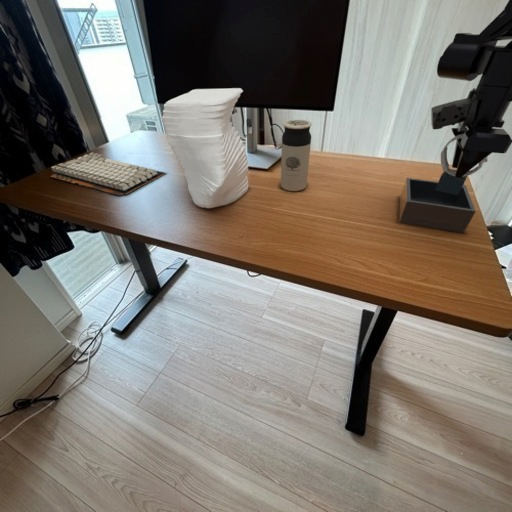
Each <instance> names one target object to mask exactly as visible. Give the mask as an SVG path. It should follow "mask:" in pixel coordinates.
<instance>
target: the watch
mask: <svg viewBox="0 0 512 512" xmlns="http://www.w3.org/2000/svg"><path fill="white" fill-rule="evenodd" d="M463 135H464V134H460V135H458V136H456V137H455V136H454V137H452V138H451V139H450V140H448V141H447V143H446V144H445V145H444V147H443V148H442V150H441V151H440V164H441V168H442V170H443V172H442V174H441V175H440V177H439V180H438V181H437V182H438V184H437V187H436V189H435V190H436V191H441V192H445V193H450V194H454V195H459V192H460V190H461V188H462V187H463V185H465V183H466V181H467V178H468V176H471V175H473V174H475V173H477V172H478V171H479V170H480V169H481V168H483V165H484V163H487V162H488V158H489V155H488V156H487V157H486V158H484V159H483V160H482V161H481V162H479V163H478V164H477V166H475V167H473V168H472V169H471V170H470V171H468V172H467V173H466V174H465V175H464V176H462V177H456V176H455V174H456V170H457V169H454V168H453V169H451V168H450V164H449V161H448V153H447V152H448V146H449V145H450V144H451V143H453V142H454V141H456V140H457V139H459V138H462V137H463Z"/></svg>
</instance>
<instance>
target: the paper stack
mask: <svg viewBox="0 0 512 512" xmlns="http://www.w3.org/2000/svg"><path fill="white" fill-rule="evenodd" d="M243 92H244V90H243V89H242V88H241V87H232V88H231V87H230V88H195V89H192V90H190V91H188V92H186V93H183V94H181V95H178V96H176V97H174V98H171V99H169V100H168V101H166V102H165V103H164V104H163V110H162V116H161V119H162V123H163V128H164V130H165V134H166V139H167V141H168V145H169V146H170V150H171V151H172V152H173V155H175V159H177V162H178V164H180V167H181V168H183V172H184V176H185V179H186V181H187V182H186V183H187V188H188V191H189V194H190V196H191V199H192V202H193V203H194V204H195V205H196V206H197V207H199V208H203V209H213V208H218V207H221V206H222V207H223V206H227V205H230V204H233V203H234V202H235V201H237V200H239V199H240V198H241V197H242V196H243V195H244V194H245V193H247V192H248V190H249V186H250V185H249V179H248V174H249V173H248V172H249V164H248V156H247V150H246V146H245V145H243V140H242V139H241V135H240V134H239V130H236V126H233V122H231V121H230V120H231V117H232V115H233V111H234V107H235V106H236V104H237V102H238V99H239V98H240V97H241V94H242V93H243Z"/></svg>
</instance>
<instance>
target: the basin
mask: <svg viewBox="0 0 512 512" xmlns="http://www.w3.org/2000/svg"><path fill="white" fill-rule="evenodd" d="M438 182H439V181H435V180H428V179H418V178H412V177H406V178H405V181H404V185H403V187H402V190H401V193H400V196H399V223H402V224H408V225H412V226H413V225H414V226H420V227H425V228H431V229H436V230H443V231H449V232H455V233H460V234H464V233H465V231H466V230H467V228H468V226H469V224H470V223H471V221H472V219H473V217H474V215H475V214H476V212H477V210H476V208H475V205H474V203H473V200H472V197H471V195H470V192H469V189H468V187H467V185H466V184H464V185H463V187H462V188H461V190H460V192H459V195H454V194H450V193H445V192H441V191H436V190H435V189H436V187H437V184H438Z"/></svg>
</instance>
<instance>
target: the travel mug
mask: <svg viewBox="0 0 512 512" xmlns="http://www.w3.org/2000/svg"><path fill="white" fill-rule="evenodd" d="M282 125H283V127H284V132H283V133H282V136H281V157H280V160H281V163H280V187H281V188H282V189H283V190H286V191H289V192H298V191H302V190H304V189H306V188H307V186H308V175H309V167H310V166H309V165H310V156H311V147H312V146H311V144H312V134H311V131H310V129H311V127H312V126H313V125H312V122H311V121H309V120H305V119H290V120H286V121H284V122H283V124H282Z"/></svg>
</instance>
